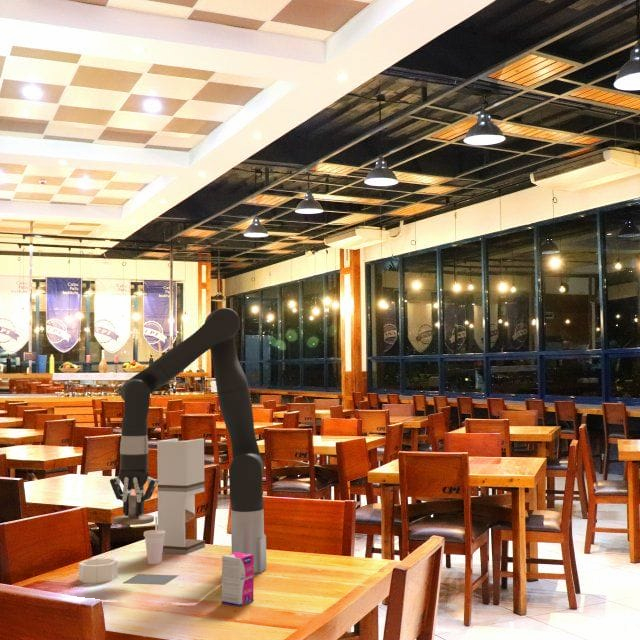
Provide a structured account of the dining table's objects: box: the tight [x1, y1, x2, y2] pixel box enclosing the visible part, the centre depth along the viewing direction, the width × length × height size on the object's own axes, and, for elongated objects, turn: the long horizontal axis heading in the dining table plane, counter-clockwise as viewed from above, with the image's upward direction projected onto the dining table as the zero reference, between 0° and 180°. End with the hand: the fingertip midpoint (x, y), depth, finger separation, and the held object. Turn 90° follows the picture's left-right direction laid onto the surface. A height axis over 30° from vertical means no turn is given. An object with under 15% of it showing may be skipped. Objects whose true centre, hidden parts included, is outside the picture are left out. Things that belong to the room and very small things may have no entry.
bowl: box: [78, 557, 119, 584], centre depth 227 cm, size 10×10×5 cm
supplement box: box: [221, 552, 255, 607], centre depth 203 cm, size 6×6×12 cm
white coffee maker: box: [156, 437, 206, 555], centre depth 268 cm, size 11×11×35 cm
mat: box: [122, 573, 179, 586], centre depth 225 cm, size 12×10×1 cm
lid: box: [112, 494, 155, 526], centre depth 227 cm, size 11×11×7 cm
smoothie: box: [143, 516, 165, 565], centre depth 246 cm, size 6×6×14 cm
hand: (133, 515), depth 227 cm, fingers closed on lid, 2 cm apart
